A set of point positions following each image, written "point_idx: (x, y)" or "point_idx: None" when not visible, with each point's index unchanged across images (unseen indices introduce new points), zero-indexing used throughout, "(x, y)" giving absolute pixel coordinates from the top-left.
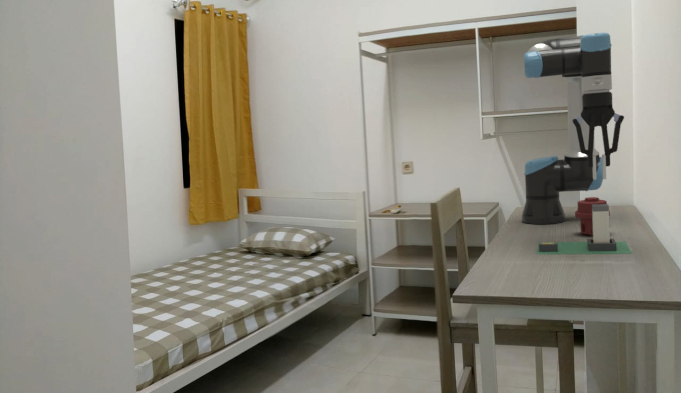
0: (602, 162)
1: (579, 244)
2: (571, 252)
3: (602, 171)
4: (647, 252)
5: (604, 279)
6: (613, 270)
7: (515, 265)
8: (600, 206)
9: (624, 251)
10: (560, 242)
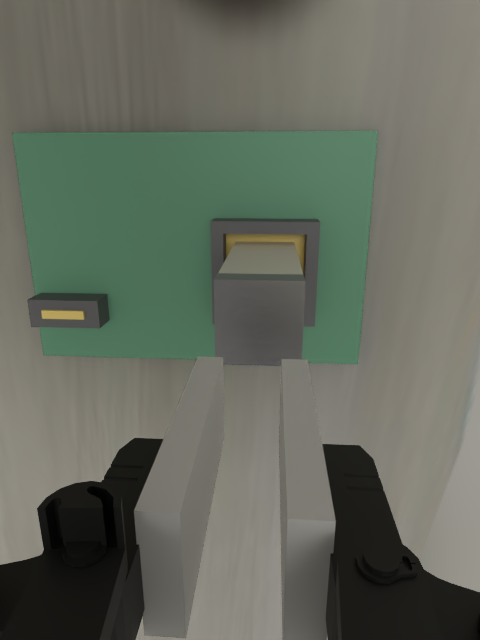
0: (282, 514)
1: (184, 187)
2: (156, 335)
3: (281, 412)
4: (423, 283)
5: (242, 583)
6: (274, 508)
7: (3, 444)
8: (256, 364)
9: (337, 329)
10: (105, 138)
